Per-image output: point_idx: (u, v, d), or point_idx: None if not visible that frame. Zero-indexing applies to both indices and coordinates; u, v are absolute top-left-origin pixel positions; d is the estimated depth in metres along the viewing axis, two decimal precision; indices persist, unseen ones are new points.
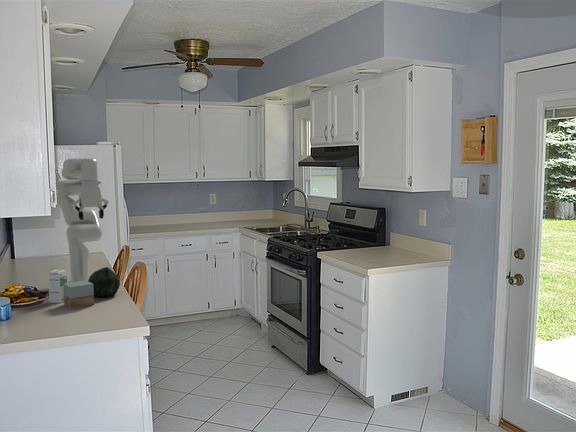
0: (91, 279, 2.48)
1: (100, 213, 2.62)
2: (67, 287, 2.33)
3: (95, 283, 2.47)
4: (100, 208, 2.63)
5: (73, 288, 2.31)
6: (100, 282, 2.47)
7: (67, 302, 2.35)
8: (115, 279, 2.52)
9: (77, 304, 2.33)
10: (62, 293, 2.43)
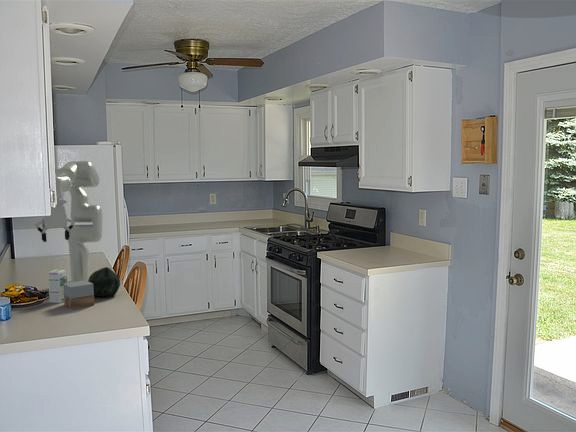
0: (91, 279, 2.48)
1: (65, 234, 2.45)
2: (67, 287, 2.33)
3: (95, 283, 2.47)
4: None
5: (73, 288, 2.31)
6: (100, 282, 2.47)
7: (67, 302, 2.35)
8: (115, 279, 2.52)
9: (77, 304, 2.33)
10: (62, 293, 2.43)
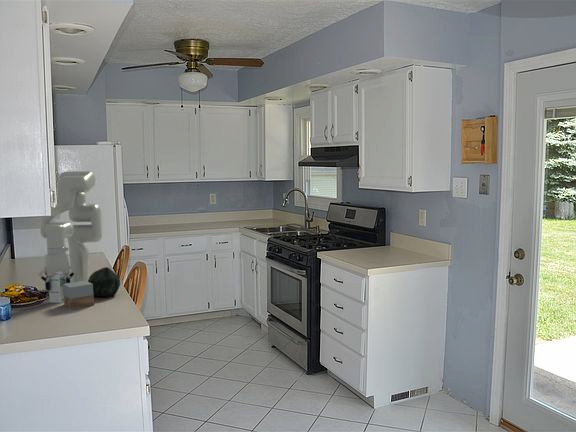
0: (91, 279, 2.48)
1: None
2: (66, 287, 2.33)
3: (95, 283, 2.47)
4: (67, 276, 2.47)
5: (73, 288, 2.31)
6: (100, 282, 2.47)
7: (67, 302, 2.35)
8: (115, 279, 2.52)
9: (77, 304, 2.32)
10: (62, 293, 2.43)
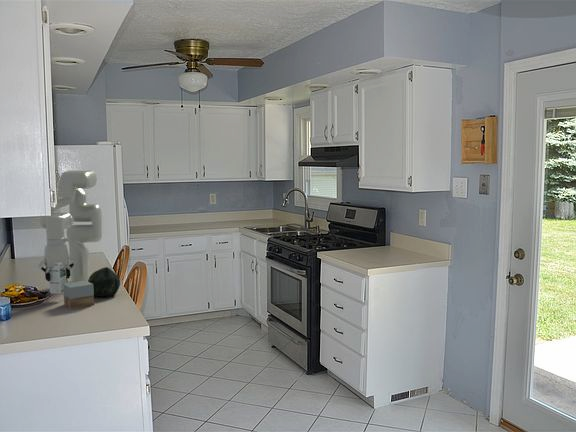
0: (91, 279, 2.48)
1: None
2: (67, 287, 2.33)
3: (95, 283, 2.47)
4: (67, 267, 2.47)
5: (73, 288, 2.31)
6: (100, 282, 2.47)
7: (67, 302, 2.35)
8: (115, 279, 2.52)
9: (77, 304, 2.33)
10: (62, 284, 2.43)
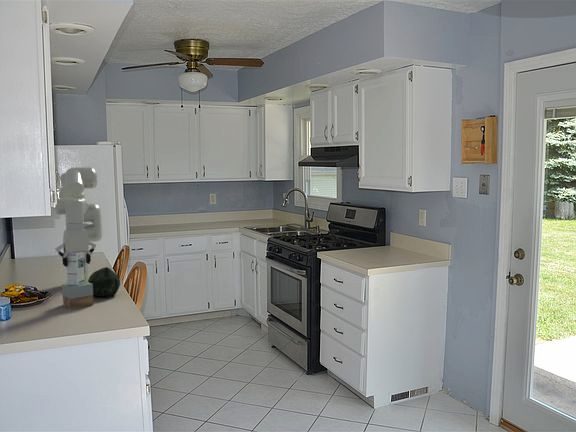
0: (91, 279, 2.48)
1: (87, 258, 2.39)
2: (66, 287, 2.33)
3: (95, 283, 2.47)
4: (87, 252, 2.39)
5: (73, 288, 2.31)
6: (100, 282, 2.47)
7: (66, 302, 2.35)
8: (115, 279, 2.52)
9: (76, 305, 2.32)
10: (80, 275, 2.35)
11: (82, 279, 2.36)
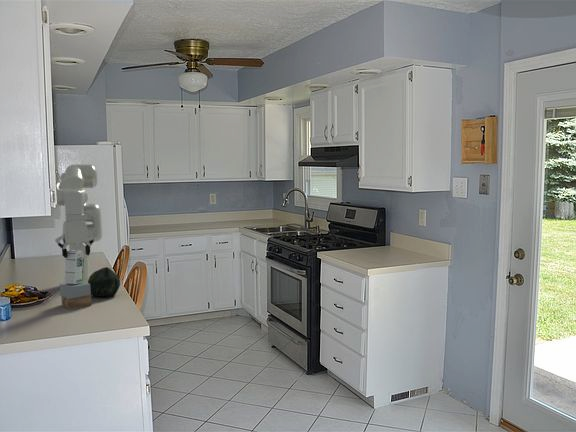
0: (91, 279, 2.48)
1: (86, 249, 2.38)
2: (64, 287, 2.33)
3: (95, 283, 2.47)
4: None
5: (70, 288, 2.30)
6: (100, 282, 2.47)
7: (64, 302, 2.34)
8: (115, 279, 2.52)
9: (74, 305, 2.32)
10: (78, 274, 2.35)
11: (80, 278, 2.36)
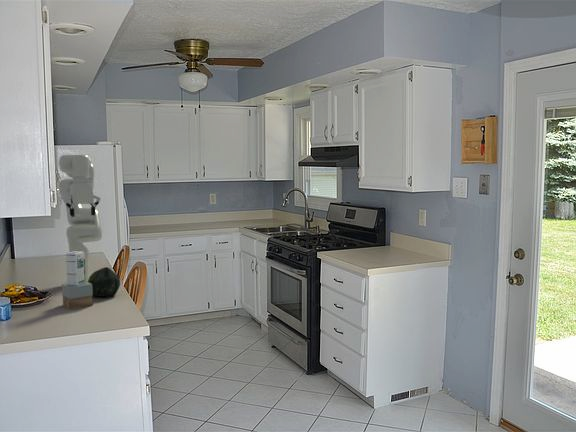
0: (91, 279, 2.48)
1: (92, 210, 2.58)
2: (66, 287, 2.33)
3: (95, 283, 2.47)
4: (92, 205, 2.59)
5: (72, 288, 2.30)
6: (100, 282, 2.47)
7: (65, 302, 2.34)
8: (115, 279, 2.52)
9: (75, 305, 2.32)
10: (79, 275, 2.34)
11: (82, 279, 2.36)
